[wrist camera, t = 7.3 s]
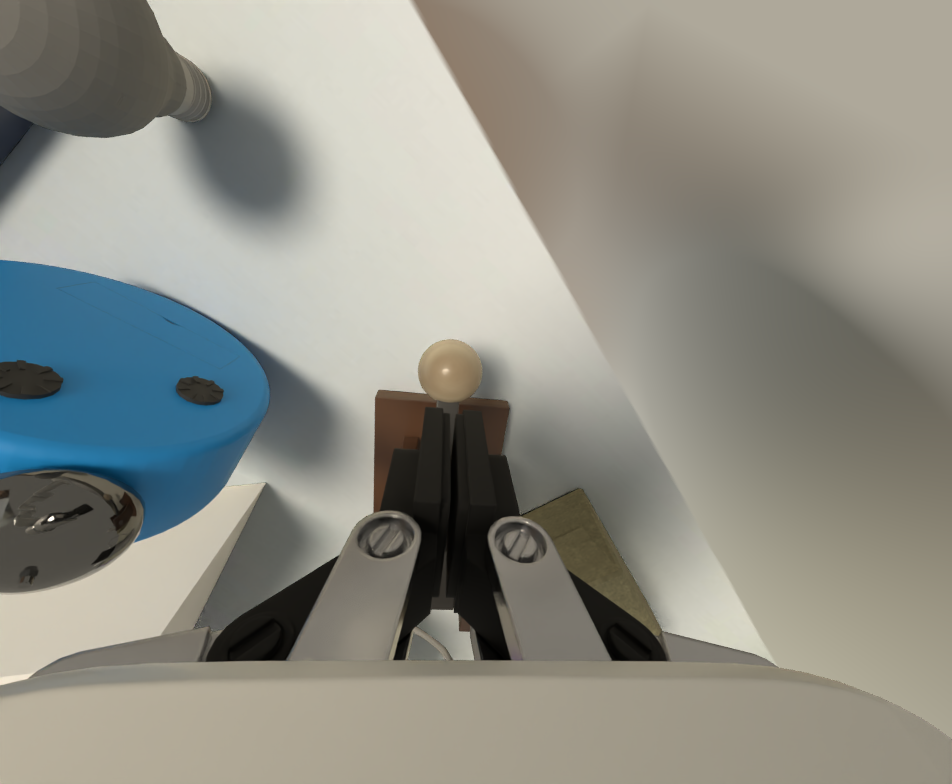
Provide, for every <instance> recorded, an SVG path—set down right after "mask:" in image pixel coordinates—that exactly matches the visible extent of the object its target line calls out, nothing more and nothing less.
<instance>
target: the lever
mask: <svg viewBox="0 0 952 784" xmlns="http://www.w3.org/2000/svg"><path fill="white" fill-rule="evenodd" d="M418 377H419V381H420V384H421V386H422V388H423V389H424V391H425V392H426V393H427V394H428V395H429V396H430V397H431V398H433V399H435V400H436V401H437V403H436V408H443V413H450V454H451V449H452V440H453V432H454V423H455V415H456V414H458V412H459V402H462V401H464V400H466V399H468V398H469V397H471V396H472V395H473V394H474V393H475V391H476V390H477V389H478V387H479V385H480V383H481V379H482V364H481V361H480V358H479V356H478V355H477V353H476V352H475V351H474V349H473V348H471V347H470V346H469V345H467V344H466V343H464V342H462V341H459V340H453V339H448V340H442V341H439V342H436V343H434V344H433V345H431V346H430V347H429V348H428V349H427V350H426V351H425V352H424V354H423V355H422V357H421V359H420V362H419V366H418ZM453 608H454V598H446V546H445V554H444V562H443V570H442V578H441V586H440V594H439V598H436V597H432V602H431V609H437V610H453Z"/></svg>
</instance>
